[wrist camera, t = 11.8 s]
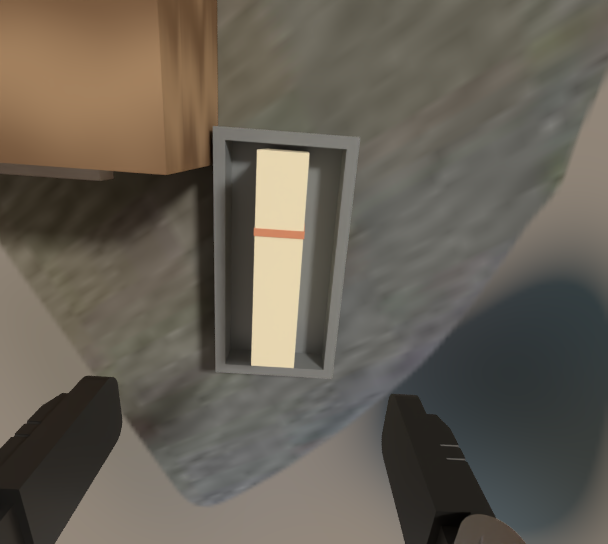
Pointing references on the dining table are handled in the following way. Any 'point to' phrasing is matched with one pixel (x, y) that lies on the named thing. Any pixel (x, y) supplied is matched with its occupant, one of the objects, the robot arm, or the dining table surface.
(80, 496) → the robot arm
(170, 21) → the wooden block
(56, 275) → the dining table surface
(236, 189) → the tray
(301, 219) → the cream rectangular block
